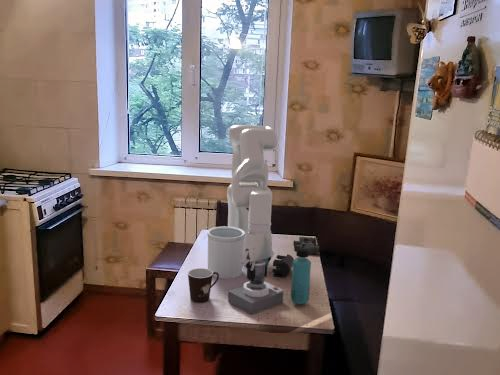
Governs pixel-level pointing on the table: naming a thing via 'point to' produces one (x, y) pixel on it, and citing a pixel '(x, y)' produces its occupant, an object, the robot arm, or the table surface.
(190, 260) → the table surface
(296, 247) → the binoculars
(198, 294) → the coffee mug
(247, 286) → the camera body
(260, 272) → the lens
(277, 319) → the table surface
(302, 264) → the beverage bottle
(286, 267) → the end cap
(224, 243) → the utensil holder
